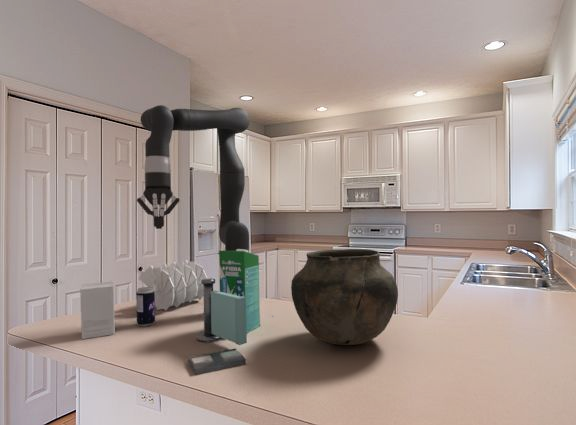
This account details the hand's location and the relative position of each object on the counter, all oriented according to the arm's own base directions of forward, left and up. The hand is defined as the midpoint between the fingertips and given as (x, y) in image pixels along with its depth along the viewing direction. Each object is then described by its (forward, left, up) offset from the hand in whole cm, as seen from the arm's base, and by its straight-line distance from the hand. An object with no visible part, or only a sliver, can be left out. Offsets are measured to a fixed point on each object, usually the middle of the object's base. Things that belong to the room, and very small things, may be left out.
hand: (158, 228), depth 112 cm
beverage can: (+3, -12, -32) cm, 34 cm away
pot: (-44, +34, -32) cm, 64 cm away
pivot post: (-12, +12, -32) cm, 36 cm away
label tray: (-9, +31, -32) cm, 45 cm away
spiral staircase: (-11, -34, -32) cm, 48 cm away
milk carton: (-23, +8, -32) cm, 40 cm away
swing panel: (-15, +21, -30) cm, 39 cm away
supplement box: (+17, -10, -32) cm, 38 cm away
